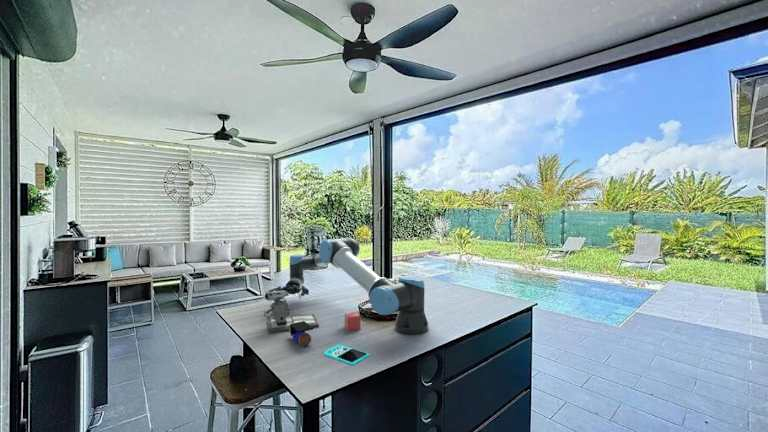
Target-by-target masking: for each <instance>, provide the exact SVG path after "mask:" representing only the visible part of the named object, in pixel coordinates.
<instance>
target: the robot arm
mask: <svg viewBox="0 0 768 432" xmlns="http://www.w3.org/2000/svg"><path fill="white" fill-rule="evenodd" d="M318 249H319V250H318V253H317V254H314V255H310V256H304V255H303V254H292V255H290V256H289V280H288V281H287V283H286V284H285V285H284V286H283V287H282V286H280V285H279V286H278V287H275V288H273V289H269V290H268V292H273V291H276V290H277V291H283V290H285V291H287V292H288V293H289V295H295V294H298V299H299V300H301V299H302V297H304V296H305V295H307V296H308V295H310V293H309V291H310V290H309V288H307V287H305V285H304V284H305V277H304V271H306V270H314V269H320V268H323V267H324V266H326V265H329V264H331V265H332V266H333V267H335V268H336V269H341V270H343V271H344V272H345V273H346V274H347V275H348V276H349V277H350V278H351V279H353V281H354V282H356V283H357V284H358V285H359V286H360V287H361V288H363V289H364V290H365V291H366V292H367V293H368V299H369V300H368V301H369V304H371V309H372V310H373V311H374V312H375V313H376V314H378V315H380V316H387V315H392V314H395V313H397V316H396V319H395V322H394V329H395V331H397V332H399V333H402V334H406V335H420V334H423V333H427V331H429V321H428V319H427V315H426V313H425V290H426V289H425V281H424V280H423V279H422V278H419V277H413V276H400V277H398V280H397V282H395V283H394V282H392V281H391V280H390V279H389V278H387V277H381V276H379V275H378V274H377V273H376V272H375V271H374V270H372V269H371V268H370V267H368V266H367V265H366V264H365V263H364V262H363V261H362V260H360V259H359V258H358V257H357V256H358V255H359V254H360V244H359V243H358V240H356V239H355V238H352V237H349V236H347V237H337V238H328V239H323V241H321V243H320V245H319V247H318Z"/></svg>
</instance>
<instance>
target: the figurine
mask: <svg viewBox="0 0 768 432" xmlns="http://www.w3.org/2000/svg"><path fill="white" fill-rule="evenodd" d="M289 295H290V294H289V293H288V292H287V291H285V290H283V291H277V290H276V291H273V292H269V291H266V292H265V294H264V299H265V300H267V301H268V302H269V301H274V302H272V303H270V308H268V310H266V311H265V310H263V318H266V319H267V320H268V319H271V318H273V319H274V320H278V321H277V325H278V326H279V325H280V326H281V325H286V324H287V322H286V317H290V312H289V311H290V308H289V304H288V302H287V299H286V297H289ZM270 312H271V313H270ZM267 314H269V315H267Z"/></svg>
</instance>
